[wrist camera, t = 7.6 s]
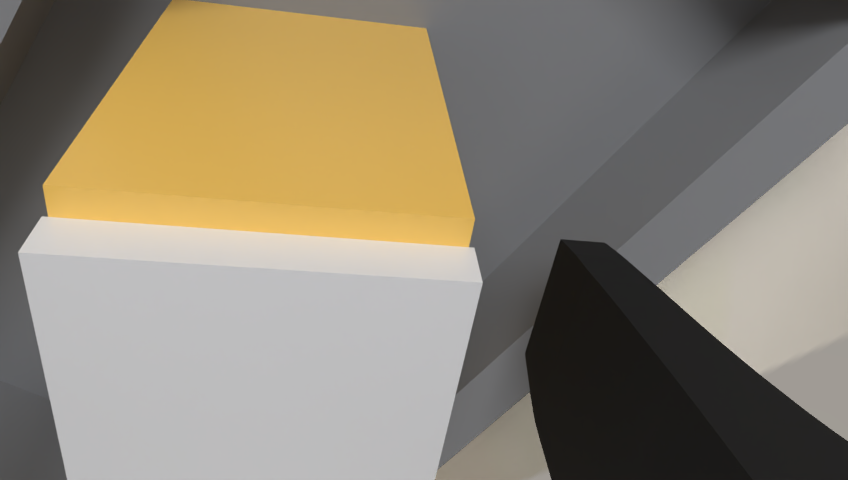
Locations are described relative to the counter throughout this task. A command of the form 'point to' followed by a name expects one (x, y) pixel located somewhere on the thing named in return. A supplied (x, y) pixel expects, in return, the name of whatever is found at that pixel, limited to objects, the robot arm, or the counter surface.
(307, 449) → the yellow and white block
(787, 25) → the parts tray
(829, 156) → the counter surface
